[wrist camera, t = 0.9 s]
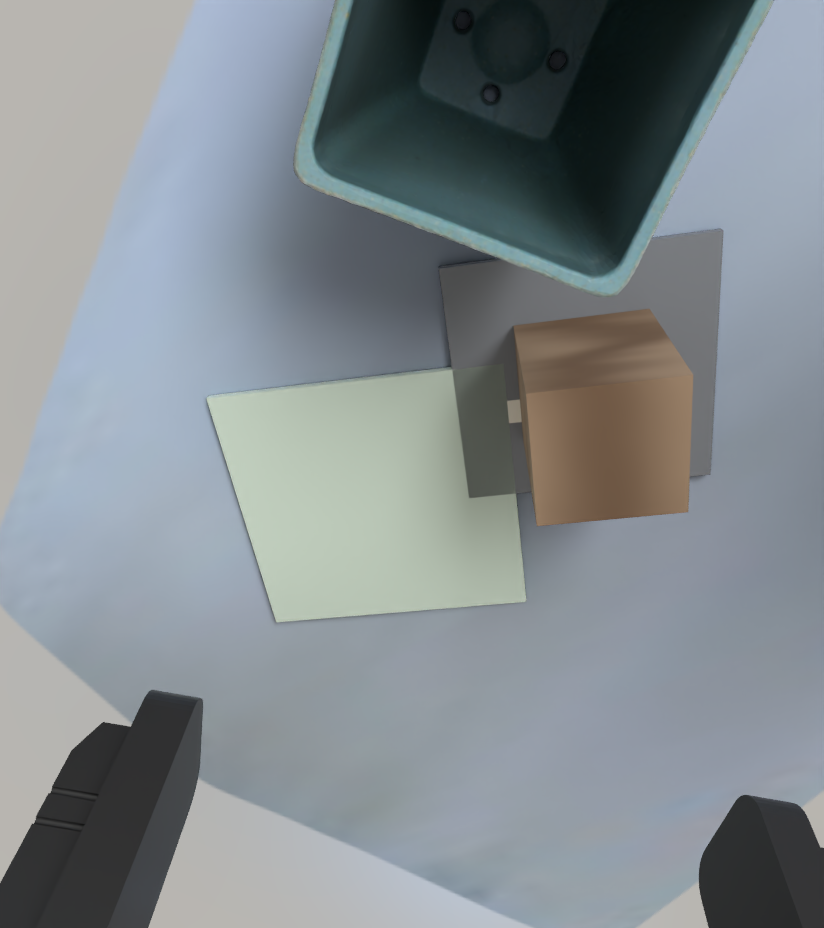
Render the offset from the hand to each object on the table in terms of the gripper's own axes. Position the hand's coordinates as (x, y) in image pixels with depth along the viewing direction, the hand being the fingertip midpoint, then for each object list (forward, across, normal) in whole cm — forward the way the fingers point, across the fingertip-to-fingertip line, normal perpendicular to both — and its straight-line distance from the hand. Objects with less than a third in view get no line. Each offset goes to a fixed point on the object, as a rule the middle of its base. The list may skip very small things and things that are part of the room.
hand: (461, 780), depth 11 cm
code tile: (+20, -5, +2) cm, 21 cm away
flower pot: (+21, +1, -9) cm, 23 cm away
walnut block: (+20, -5, +2) cm, 21 cm away
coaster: (+20, +2, +9) cm, 22 cm away
